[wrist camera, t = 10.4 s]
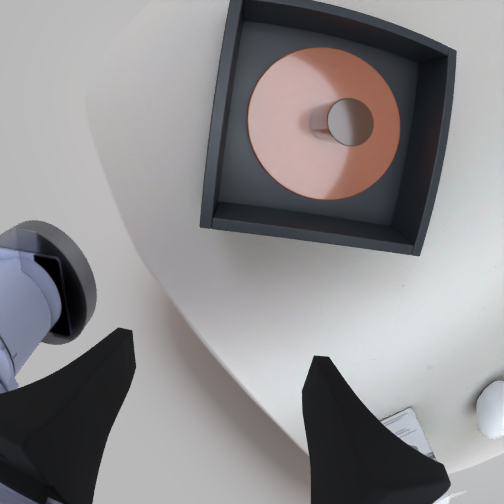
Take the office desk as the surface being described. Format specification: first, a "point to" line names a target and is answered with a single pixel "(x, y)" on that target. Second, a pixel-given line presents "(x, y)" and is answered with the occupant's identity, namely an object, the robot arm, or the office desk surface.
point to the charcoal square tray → (373, 198)
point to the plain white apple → (491, 411)
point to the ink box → (412, 437)
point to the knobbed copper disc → (323, 123)
